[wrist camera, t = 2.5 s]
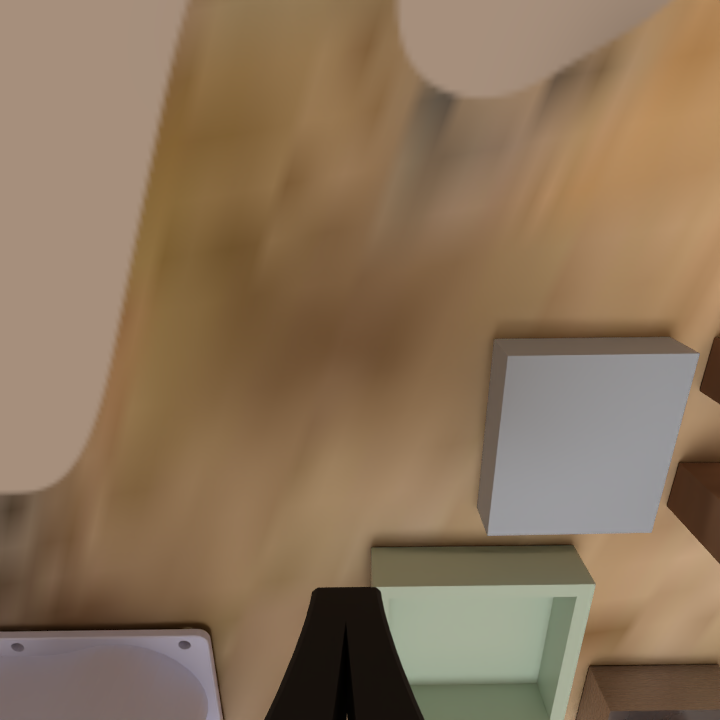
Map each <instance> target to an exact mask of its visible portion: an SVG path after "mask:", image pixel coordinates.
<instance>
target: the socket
mask: <svg viewBox="0 0 720 720" xmlns="http://www.w3.org/2000/svg"><path fill="white" fill-rule="evenodd" d="M576 720H720V666H719V665H656V666H589V670H588V674H587V678H586V682H585V686H584V690H583V694H582V698H581V702H580V706H579V710H578V714H577V718H576Z"/></svg>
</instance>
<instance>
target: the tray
mask: <svg viewBox="0 0 720 720" xmlns="http://www.w3.org/2000/svg"><path fill="white" fill-rule="evenodd" d="M595 585H596V584H595V582H594V580H593V579H592V577H591V575H590V573H589V572H588V570H587V568H586V566H585V565H584V563H583V561H582V560H581V558H580V556H579V554H578V553H577V551H576V549H575V547H574V546H573V545H549V546H459V547H371V587H376V588H378V589H379V590H380V591H381V595H382V601H383V606H384V610H385V614H386V618H387V622H388V625H389V628H390V632H391V635H392V638H393V641H394V644H395V647H396V650H397V653H398V656H399V658H400V661H401V664H402V666H403V669H404V671H405V674H406V676H407V679H408V681H409V684H410V686H411V689H412V692H413V694H414V697H415V699H416V701H417V703H418V706H419V708H420V710H421V713H422V715H423V717H424V719H425V720H564V717H565V713H566V709H567V704H568V700H569V696H570V692H571V687H572V683H573V679H574V675H575V670H576V666H577V662H578V658H579V653H580V649H581V645H582V641H583V636H584V632H585V628H586V624H587V619H588V615H589V611H590V607H591V602H592V598H593V594H594V590H595Z"/></svg>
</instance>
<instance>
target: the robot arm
mask: <svg viewBox="0 0 720 720" xmlns="http://www.w3.org/2000/svg"><path fill="white" fill-rule="evenodd" d="M347 718H348V720H425V719H424V717H423V715H422V713H421V710H420V708H419V706H418V703H417V701H416V699H415V697H414V694H413V692H412V689H411V686H410V684H409V681H408V679H407V676H406V674H405V671H404V669H403V666H402V664H401V661H400V658H399V656H398V653H397V650H396V647H395V644H394V641H393V638H392V635H391V632H390V628H389V625H388V622H387V618H386V614H385V610H384V606H383V601H382V595H381V591H380V590H379V589H378V588H376V587H333V588H317V589H315V590H314V591H313V592H312V596H311V600H310V605H309V608H308V612H307V616H306V619H305V622H304V625H303V628H302V631H301V634H300V637H299V640H298V642H297V645H296V648H295V651H294V653H293V656H292V658H291V660H290V663H289V665H288V668H287V670H286V673H285V675H284V677H283V680H282V682H281V685H280V687H279V689H278V692H277V694H276V696H275V698H274V701H273V703H272V705H271V707H270V709H269V711H268V713H267V715H266V717H265V719H264V720H346V719H347ZM0 720H223V716H222V709H221V703H220V696H219V690H218V684H217V677H216V671H215V664H214V658H213V651H212V645H211V638H210V635H209V634H208V633H207V632H206V631H204V630H202V629H162V630H89V631H16V632H0Z"/></svg>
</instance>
